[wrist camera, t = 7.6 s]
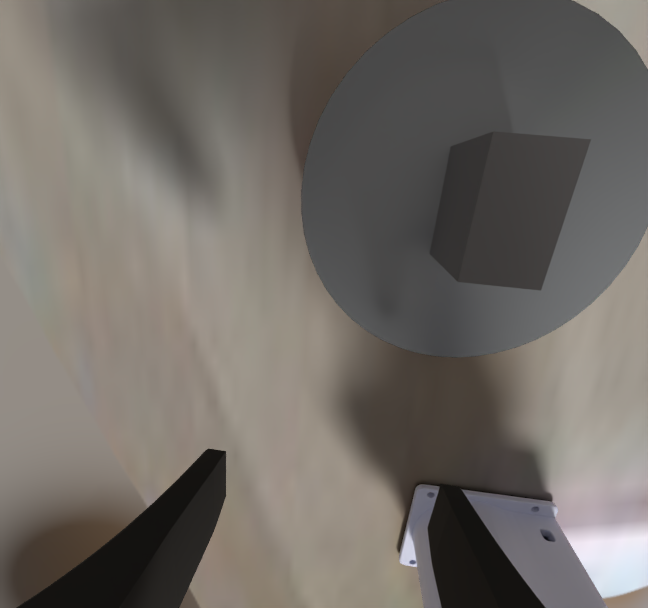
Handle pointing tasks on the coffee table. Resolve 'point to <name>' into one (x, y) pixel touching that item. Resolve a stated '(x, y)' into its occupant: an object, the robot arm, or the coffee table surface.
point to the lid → (480, 175)
